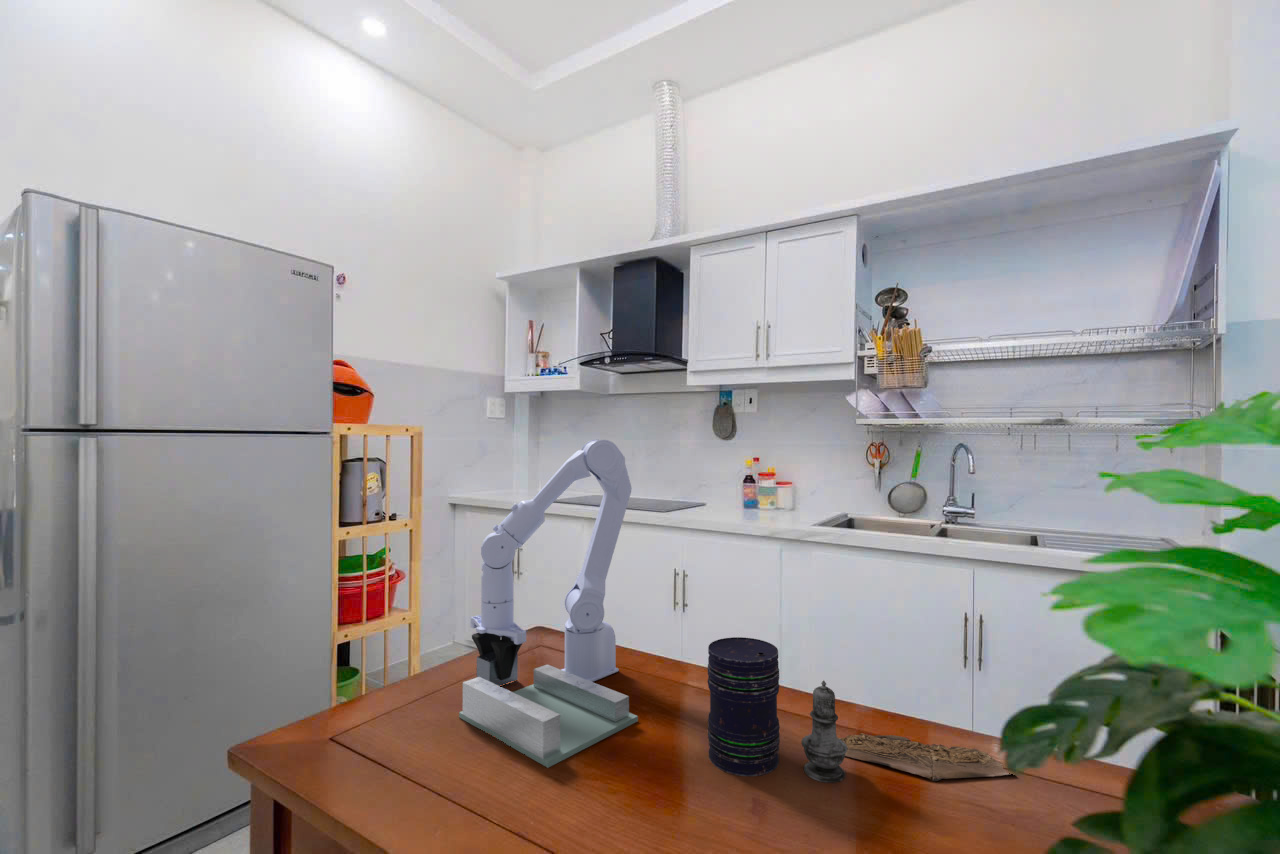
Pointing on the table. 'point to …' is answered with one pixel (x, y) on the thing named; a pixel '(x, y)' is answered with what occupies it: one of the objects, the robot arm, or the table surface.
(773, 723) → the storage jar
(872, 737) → the wooden fragment
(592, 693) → the bar
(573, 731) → the vise base
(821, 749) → the salt shaker
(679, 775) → the table surface
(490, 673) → the steel block
